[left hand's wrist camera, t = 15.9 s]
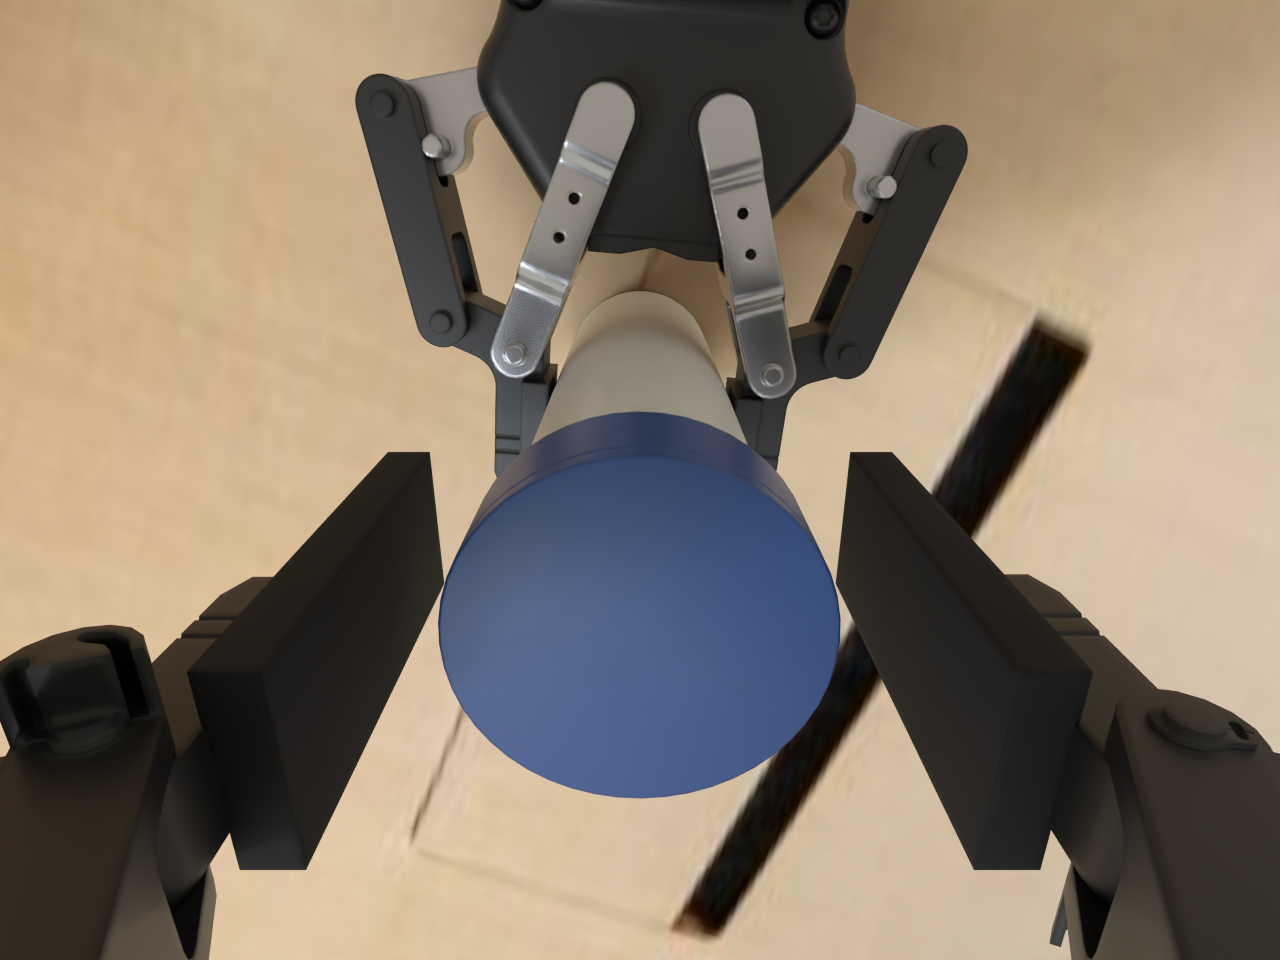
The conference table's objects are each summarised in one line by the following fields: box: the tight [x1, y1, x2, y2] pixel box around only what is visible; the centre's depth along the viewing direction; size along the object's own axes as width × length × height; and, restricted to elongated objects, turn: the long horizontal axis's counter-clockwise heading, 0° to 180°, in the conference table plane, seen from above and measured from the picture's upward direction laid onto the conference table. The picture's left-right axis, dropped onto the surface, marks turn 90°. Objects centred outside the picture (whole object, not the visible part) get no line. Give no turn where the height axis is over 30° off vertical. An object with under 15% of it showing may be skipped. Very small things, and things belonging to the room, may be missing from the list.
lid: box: [438, 411, 840, 798], centre depth 11 cm, size 6×6×2 cm
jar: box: [532, 291, 747, 445], centre depth 19 cm, size 5×5×17 cm
